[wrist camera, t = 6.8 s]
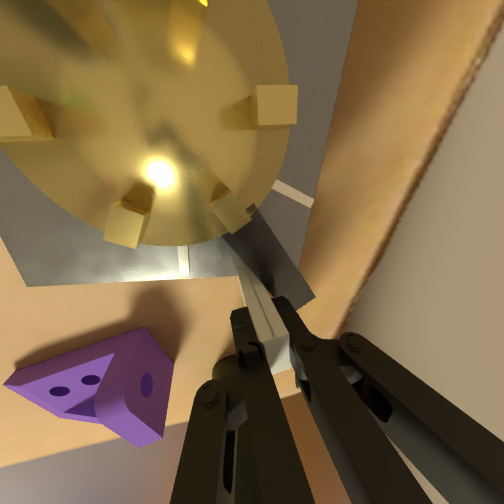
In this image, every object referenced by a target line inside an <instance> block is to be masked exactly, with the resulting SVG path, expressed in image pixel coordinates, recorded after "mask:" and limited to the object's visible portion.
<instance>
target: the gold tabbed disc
mask: <svg viewBox="0 0 504 504" xmlns="http://www.w3.org/2000/svg"><path fill="white" fill-rule="evenodd" d="M297 97H298V85H290V82H289V74H288V67H287V62H286V58H285V53H284V49H283V44H282V41H281V38H280V35H279V32H278V29H277V25H276V22H275V19H274V17H273V14H272V12H271V10H270V7H269V5H268V3H267V0H0V147H1V148H2V150H3V151H4V152H5V153H6V154H7V156H8V157H9V158H10V159H11V160H12V162H13V163H14V164H15V165H16V167H17V168H18V169H19V170H20V171H21V172H22V173H23V174H24V175H25V176H26V177H27V178H28V179H29V180H30V181H31V182H32V183H33V184H34V185H35V186H36V187H37V188H38V189H40V190H41V191H42V192H43V193H44V194H46V195H47V196H48V197H49V198H50V199H52V200H53V201H54V202H55V203H57V204H58V205H59V206H61V207H62V208H64V209H65V210H67V211H68V212H69V213H71V214H72V215H74V216H75V217H77V218H79V219H81V220H82V221H84V222H86V223H88V224H90V225H91V226H93V227H95V228H98V229H100V230H102V231H104V232H105V233H104V238H103V240H104V241H108V242H112V243H115V244H119V245H123V246H126V247H130V248H134V249H136V248H137V247H138V246H139V244H140V243H142V244H147V245H155V246H186V245H193V244H198V243H202V242H206V241H209V240H212V239H215V238H217V237H220V236H222V237H223V239H224V240H225V241H226V242H227V243H228V244H229V246H230V247H231V248H232V249H233V250H234V251H235V253H236V254H237V255H238V256H239V257H240V258H241V260H242V261H243V262H244V263H245V264H246V265H247V267H248V268H249V269H250V270H251V271H252V272H253V274H254V275H255V276H256V277H257V278H258V279H259V281H260V282H261V283H262V284H263V285H264V286H265V288H266V289H267V290H268V291H269V292H270V293H271V295H272V296H273V297H274V298H276V297H279V296H284V297H285V298H287V299H288V300H289V301H290V303H291V304H292V306H293V307H294V309H295V310H298V309H299V308H300V307H302V306H303V305H305V304H306V303H308V302H309V301H311V300H312V299H314V298H315V297H316V296H315V295H314V293H313V292H312V290H311V289H310V287H309V286H308V284H307V283H306V281H305V280H304V278H303V277H302V275H301V274H300V272H299V271H298V269H297V268H296V266H295V265H294V263H293V262H292V260H291V259H290V257H289V256H288V254H287V253H286V251H285V250H284V248H283V247H282V245H281V244H280V242H279V240H278V239H277V237H276V236H275V234H274V233H273V231H272V230H271V228H270V227H269V225H268V224H267V222H266V221H265V219H264V218H263V216H262V215H261V213H260V212H259V210H258V209H257V208H258V207H259V206H260V205H261V204H262V202H263V201H264V199H265V198H266V197H267V195H268V194H269V192H270V190H271V188H272V187H273V185H274V183H275V181H276V179H277V176H278V174H279V172H280V169H281V167H282V164H283V160H284V157H285V153H286V150H287V144H288V138H289V133H290V127H291V126H293V125H295V124H297Z"/></svg>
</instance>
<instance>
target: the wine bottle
mask: <svg viewBox="0 0 504 504" xmlns="http://www.w3.org/2000/svg"><path fill="white" fill-rule="evenodd" d="M235 356H236V355H232V356H229V357H227V358H224V359H223V360H221V361H220V362H218V363H217V364H216V365H215V367H214V369H213V371H212V380H213V379H215V380H221V379H222V378H224V377H225V376H226V375H228V374H229V373H230V372H231V371H232V370H233V368H234V367H235V364H236V357H235ZM234 504H263V500H262V494H261V489H260V483H259V478H258V472H257V467H256V461H255V456H254V450H253V444H252V439H251V433H250V428H249V422H248V419H247V420H246V421H244V422H243V423H242V424H241V425H240V426H239V427H238V434H237V455H236V476H235V497H234Z"/></svg>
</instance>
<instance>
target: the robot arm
mask: <svg viewBox="0 0 504 504" xmlns="http://www.w3.org/2000/svg"><path fill="white" fill-rule="evenodd" d="M236 271H237V276H238V281H239V285H240V290H241V295H242V299H243V302H244V305H245V307H243V308H239V309H236V310H233V311H232V313H231V316H230V320H231V325H232V331H233V336H234V342H235V347H236V356H235V357H236V364H235V367H234V368H233V370H232V371H231V372H230V373H229V374H228V375H226V376H225V377H224V378H222V379H221V380H215V379H213V380H209V381H207V382H205V383H204V384H203V385H202V386H201V387H200V388H199V389H198V391H197V393H196V395H195V398H194V402H193V406H192V410H191V415H190V419H189V423H188V427H187V432H186V436H185V440H184V445H183V449H182V453H181V457H180V462H179V466H178V470H177V474H176V479H175V483H174V488H173V492H172V496H171V500H170V504H234V497H235V476H236V455H237V434H238V427H239V426H240V425H241V424H242V423H243V422H244V421H246V420H247V419H248V422H249V428H250V433H251V439H252V444H253V450H254V456H255V461H256V467H257V472H258V478H259V483H260V489H261V494H262V500H263V504H315V502H314V498H313V495H312V492H311V489H310V486H309V484H308V480H307V477H306V475H305V471H304V468H303V465H302V463H301V460H300V457H299V454H298V451H297V448H296V445H295V442H294V439H293V436H292V433H291V430H290V427H289V424H288V421H287V418H286V415H285V412H284V409H283V406H282V403H281V400H280V397H279V394H278V391H277V388H276V385H275V382H274V379H273V376H272V375H273V374H276V373H279V372H282V371H285V370H287V369H290V368H291V364H292V366H293V369H294V371H295V382H296V387H297V388H299V387H300V389H301V391H302V393H303V396H304V398H305V400H306V402H307V405H308V407H309V409H310V411H311V414H312V416H313V418H314V420H315V423H316V425H317V427H318V429H319V431H320V434H321V436H322V438H323V440H324V443H325V445H326V447H327V449H328V452H329V453H330V456H331V458H332V460H333V463H334V465H335V467H336V469H337V472H338V474H339V476H340V478H341V480H342V483H343V485H344V487H345V489H346V492H347V494H348V496H349V499H350V501H351V503H352V504H433V503H432V502H431V500H430V499H429V498H428V496H427V495H426V493H425V492H424V490H423V489H422V487H421V486H420V484H419V483H418V482H417V480H416V479H415V477H414V476H413V474H412V473H411V471H410V470H409V468H408V467H407V466H406V464H405V463H404V461H403V460H402V458H401V457H400V455H399V454H398V452H397V451H396V450H395V448H394V447H393V445H392V444H391V442H390V441H389V439H388V438H387V436H388V437H389V438H390V439H391V441H392V442H393V443H394V444H395V445H396V446H397V447H398V448H399V449H400V450H401V451H402V453H403V454H404V455H405V456H406V457H407V458H408V459H409V460H410V461H411V462H412V463H413V465H414V466H415V467H416V468H417V469H418V470H419V471H420V472H421V473H422V474H423V475H424V477H425V478H426V479H427V480H428V481H429V482H430V483H431V484H432V485H433V486H434V487H435V489H436V490H437V491H438V492H439V493H440V494H441V495H442V496H443V497H444V498H445V499H446V501H447V502H449V504H504V442H503V441H501V440H500V439H499V438H498V437H496V436H495V435H494V434H492V433H491V432H490V431H488V430H487V429H486V428H484V427H483V426H482V425H480V424H479V423H478V422H476V421H475V420H474V419H472V418H471V417H470V416H468V415H467V414H465V413H464V412H463V411H462V410H460V409H459V408H458V407H456V406H455V405H454V404H452V403H451V402H450V401H448V400H447V399H446V398H444V397H443V396H442V395H440V394H439V393H438V392H436V391H435V390H434V389H432V388H431V387H430V386H428V385H427V384H426V383H424V382H423V381H422V380H420V379H419V378H418V377H416V376H415V375H414V374H412V373H411V372H410V371H408V370H407V369H406V368H404V367H403V366H402V365H400V364H399V363H398V362H396V361H395V360H394V359H392V358H391V357H390V356H388V355H387V354H386V353H384V352H383V351H382V350H380V349H379V348H378V347H376V346H375V345H374V344H372V343H371V342H370V341H368V340H367V339H366V338H364V337H363V336H361V335H359V334H356V333H353V332H346V333H344V334H342V335H341V336H340V338H339V339H321V338H318V337H317V336H315V335H313V334H312V333H310V331H309V330H308V329H307V327H306V326H305V324H304V323H303V321H302V319H301V318H300V316H299V315H298V313H297V312H296V310H295V309H294V307H293V306H292V304H291V303H290V301H289V300H288V299H287V298H285V297H284V296H279V297H276V298H272V299H271V298H270V296H269V295H268V293H267V291H266V289H265V287H264V285H263V284H262V283H261V282H260V281H259V279H258V278H257V277H256V276H255V275H254V274H253V272H252V271H251V270H250V269H249V268H248V267H245V268H241V269H237V270H236ZM385 434H386V435H387V436H386V435H385Z"/></svg>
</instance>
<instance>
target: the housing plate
mask: <svg viewBox="0 0 504 504" xmlns="http://www.w3.org/2000/svg"><path fill="white" fill-rule="evenodd" d="M267 3H268V5H269V7H270V10H271V12H272V14H273V17H274V19H275V22H276V25H277V29H278V32H279V35H280V38H281V41H282V44H283V49H284V53H285V58H286V62H287V67H288V74H289V82H290V85H298V97H297V124H295V125H293V126H291V127H290V133H289V138H288V144H287V150H286V153H285V157H284V160H283V164H282V167H281V169H280V172H279V174H278V176H277V179H276V181H275V183H274V185H273V187H272V188H271V190H270V192H269V194H268V195H267V197H266V198H265V199H264V201H263V202H262V204H261V205H260V206H259V207H258V208H257V209H258V210H259V212H260V213H261V215H262V216H263V218H264V219H265V221H266V222H267V224H268V225H269V227H270V228H271V230H272V231H273V233H274V234H275V236H276V237H277V239H278V240H279V242H280V244H281V245H282V247H283V248H284V250H285V251H286V253H287V254H288V256H289V257H290V259H291V260H292V262H293V263H294V265H295V266H296V268H297V269H298V268H299V264H300V259H301V255H302V250H303V246H304V241H305V237H306V232H307V228H308V223H309V219H310V214H311V210H312V206H313V202H314V201H315V199H314V197H315V192H316V188H317V183H318V179H319V174H320V170H321V165H322V161H323V157H324V152H325V148H326V143H327V139H328V134H329V130H330V125H331V121H332V116H333V112H334V107H335V103H336V99H337V94H338V90H339V85H340V81H341V76H342V72H343V67H344V63H345V58H346V54H347V50H348V45H349V41H350V36H351V32H352V27H353V23H354V18H355V14H356V9H357V5H358V0H267ZM104 233H105V232H104V231H102V230H100V229H98V228H95V227H93V226H91V225H90V224H88V223H86V222H84V221H82V220H81V219H79V218H77V217H75V216H74V215H72V214H71V213H69V212H68V211H67V210H65V209H64V208H62V207H61V206H59V205H58V204H57V203H55V202H54V201H53V200H52V199H50V198H49V197H48V196H47V195H46V194H44V193H43V192H42V191H41V190H40V189H38V188H37V187H36V186H35V185H34V184H33V183H32V182H31V181H30V180H29V179H28V178H27V177H26V176H25V175H24V174H23V173H22V172H21V171H20V170H19V169H18V168H17V167H16V165H15V164H14V163H13V162H12V160H11V159H10V158H9V157H8V156H7V154H6V153H5V152H4V151H3V150H2V148H1V147H0V236H1V238H2V240H3V242H4V244H5V246H6V248H7V250H8V251H9V253H10V255H11V257H12V259H13V261H14V263H15V265H16V267H17V269H18V271H19V272H20V274H21V276H22V278H23V280H24V282H25V284H26V286H27V287H35V286H54V285H73V284H92V283H111V282H130V281H149V280H168V279H187V278H206V277H225V276H237V271H236V270H237V269H241V268H245V267H247V265H246V264H245V263H244V262H243V261H242V260H241V258H240V257H239V256H238V255H237V254H236V253H235V251H234V250H233V249H232V248H231V247H230V246H229V244H228V243H227V242H226V241H225V240H224V239H223V237H222V236H220V237H217V238H215V239H212V240H209V241H206V242H202V243H198V244H193V245H186V246H155V245H147V244H142V243H140V244H139V246H138V247H137V248H136V249H134V248H130V247H126V246H123V245H119V244H115V243H112V242H108V241H104V240H103V238H104Z"/></svg>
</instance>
